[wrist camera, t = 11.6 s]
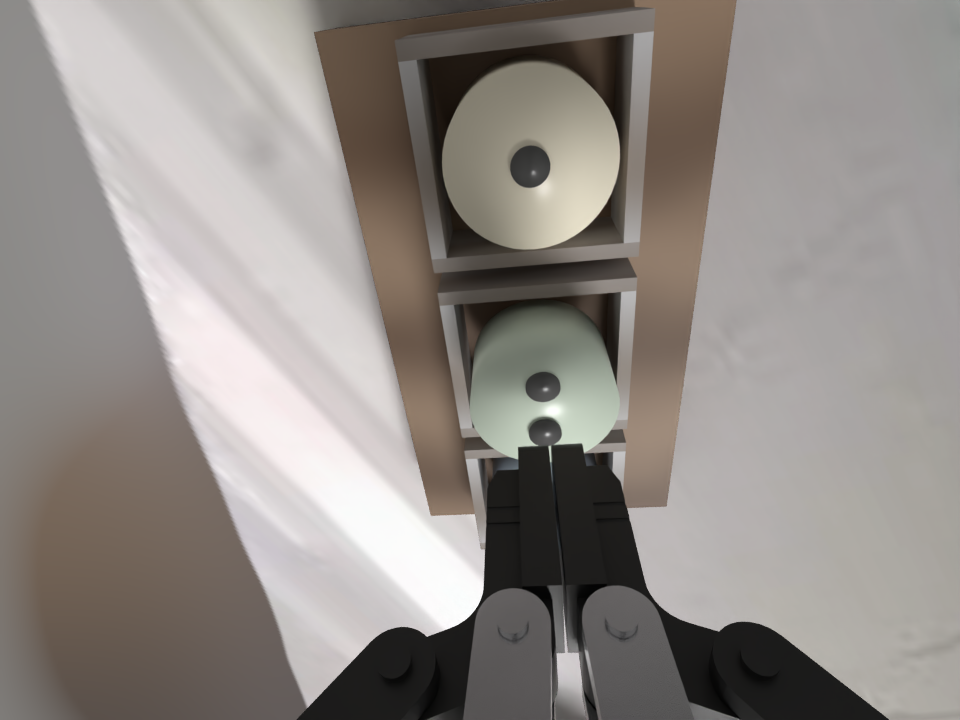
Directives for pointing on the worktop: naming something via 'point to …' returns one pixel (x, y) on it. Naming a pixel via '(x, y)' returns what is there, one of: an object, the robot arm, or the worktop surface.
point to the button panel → (546, 271)
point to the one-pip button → (530, 153)
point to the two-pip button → (542, 379)
